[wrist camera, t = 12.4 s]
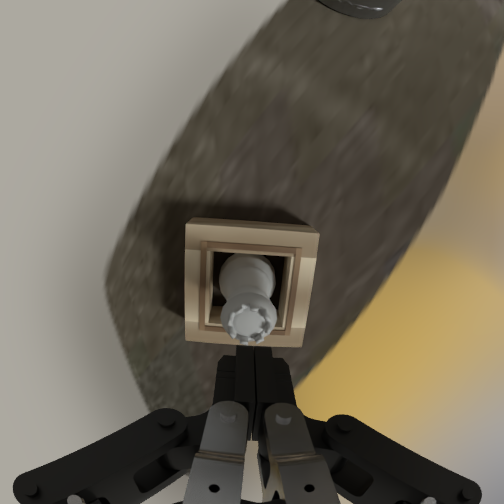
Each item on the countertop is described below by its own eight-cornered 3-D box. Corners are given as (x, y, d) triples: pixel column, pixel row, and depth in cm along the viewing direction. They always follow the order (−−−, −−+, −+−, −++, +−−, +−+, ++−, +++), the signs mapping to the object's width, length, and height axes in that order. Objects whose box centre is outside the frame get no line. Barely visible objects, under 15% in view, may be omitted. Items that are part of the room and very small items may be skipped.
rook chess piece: (210, 288, 24) (196, 341, 16) (233, 239, 23) (228, 275, 15) (259, 309, 24) (266, 368, 17) (285, 263, 23) (304, 308, 16)
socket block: (193, 217, 22) (185, 224, 19) (310, 225, 23) (319, 233, 20) (191, 321, 25) (185, 341, 22) (295, 328, 25) (301, 347, 22)
